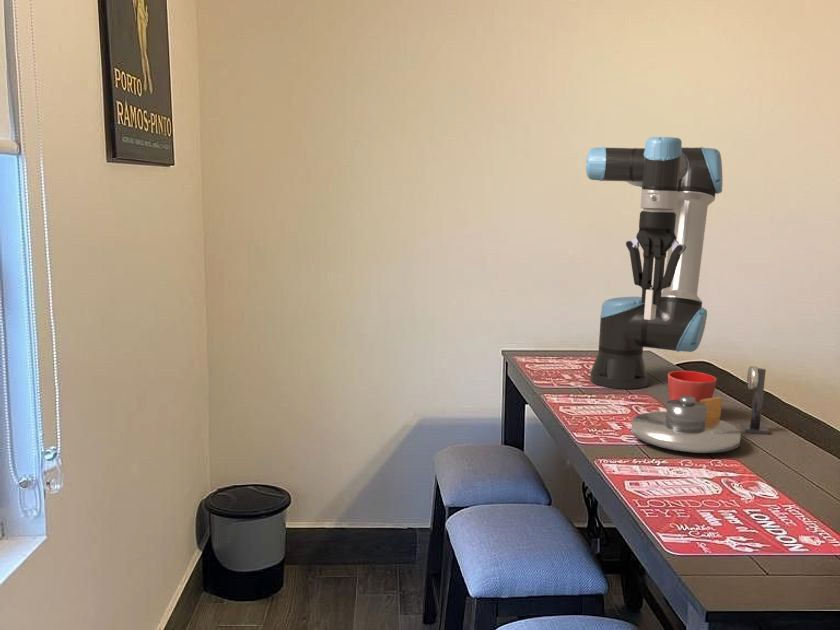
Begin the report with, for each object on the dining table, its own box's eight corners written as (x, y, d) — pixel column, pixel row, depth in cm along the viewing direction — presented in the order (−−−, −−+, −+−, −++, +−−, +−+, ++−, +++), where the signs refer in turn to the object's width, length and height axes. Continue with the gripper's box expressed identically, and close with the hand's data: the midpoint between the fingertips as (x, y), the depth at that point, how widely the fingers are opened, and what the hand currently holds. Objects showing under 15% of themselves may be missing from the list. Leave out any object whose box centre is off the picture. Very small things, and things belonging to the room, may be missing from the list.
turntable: (609, 429, 180) (612, 397, 179) (676, 415, 192) (678, 385, 191) (694, 459, 162) (698, 424, 161) (761, 442, 174) (765, 409, 173)
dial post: (740, 426, 189) (746, 363, 187) (763, 427, 188) (770, 365, 186) (745, 432, 184) (751, 368, 182) (769, 434, 184) (775, 370, 181)
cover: (657, 425, 177) (659, 395, 176) (682, 419, 181) (684, 390, 180) (687, 435, 171) (690, 404, 169) (713, 429, 175) (715, 399, 174)
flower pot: (716, 424, 190) (720, 383, 188) (666, 420, 192) (670, 379, 190) (709, 412, 200) (713, 372, 199) (662, 408, 202) (665, 369, 201)
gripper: (622, 209, 180) (614, 316, 184) (680, 212, 172) (671, 325, 176) (637, 208, 186) (629, 313, 190) (694, 211, 178) (685, 320, 182)
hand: (649, 318), depth 183 cm, fingers closed
